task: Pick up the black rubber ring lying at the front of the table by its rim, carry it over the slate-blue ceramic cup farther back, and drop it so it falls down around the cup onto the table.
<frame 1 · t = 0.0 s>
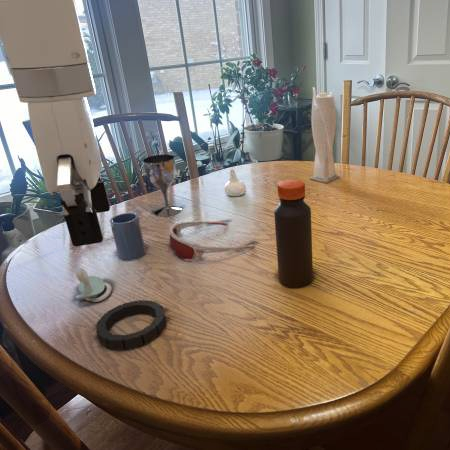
hand: (93, 226, 54), 24 cm above the table, tool pointing down, fingers open, 9 cm apart
skyscraper: (324, 178, 141), on the table
bottle: (295, 280, 86), on the table
garlic bulb: (235, 194, 131), on the table
pacifier: (95, 296, 84), on the table
wine glass: (168, 212, 121), on the table
ring: (133, 328, 74), on the table
cup: (132, 254, 99), on the table
sunglasses: (208, 245, 101), on the table
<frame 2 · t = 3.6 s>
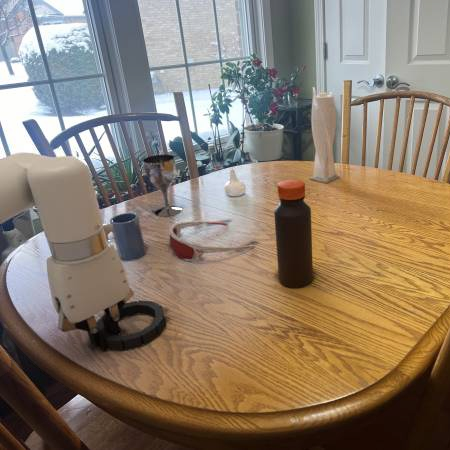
hand: (107, 342, 71), 0 cm above the table, tool pointing down, fingers closed on ring, 1 cm apart
ring: (132, 328, 74), on the table, touching gripper
everything else where it was.
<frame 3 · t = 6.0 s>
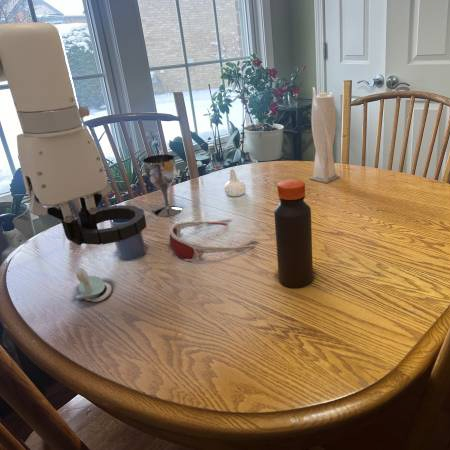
hand: (83, 238, 68), 17 cm above the table, tool pointing down, fingers closed on ring
ring: (111, 229, 71), point 17 cm above the table, touching gripper
everything else where it was.
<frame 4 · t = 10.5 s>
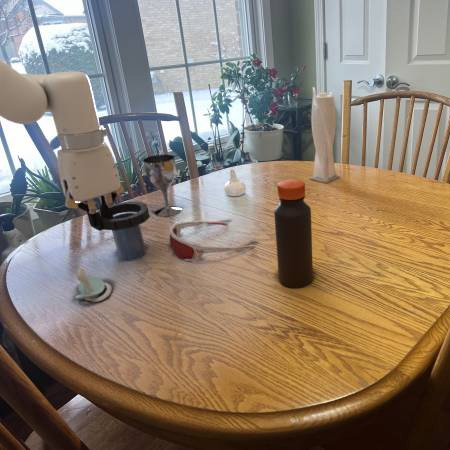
hand: (103, 226, 91), 9 cm above the table, tool pointing down, fingers closed on ring
ring: (123, 219, 95), point 9 cm above the table, touching gripper
everything else where it was.
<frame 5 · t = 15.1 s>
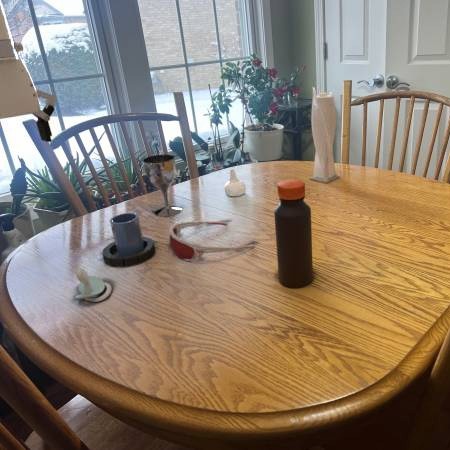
hand: (21, 146, 85), 26 cm above the table, tool pointing down, fingers open, 9 cm apart
ring: (130, 255, 98), on the table
everything else where it was.
at the end: ring 0.5 cm off-centre in the cup, point 0.0 cm above the cup's base; the gripper is holding nothing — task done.
